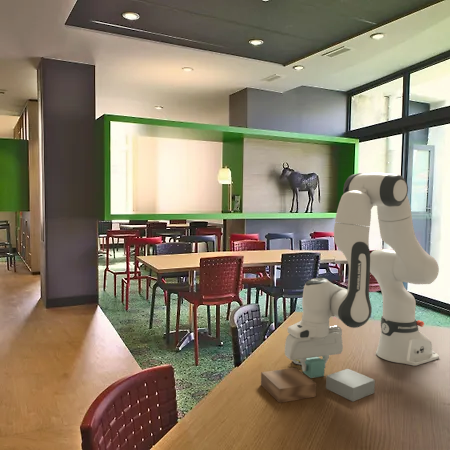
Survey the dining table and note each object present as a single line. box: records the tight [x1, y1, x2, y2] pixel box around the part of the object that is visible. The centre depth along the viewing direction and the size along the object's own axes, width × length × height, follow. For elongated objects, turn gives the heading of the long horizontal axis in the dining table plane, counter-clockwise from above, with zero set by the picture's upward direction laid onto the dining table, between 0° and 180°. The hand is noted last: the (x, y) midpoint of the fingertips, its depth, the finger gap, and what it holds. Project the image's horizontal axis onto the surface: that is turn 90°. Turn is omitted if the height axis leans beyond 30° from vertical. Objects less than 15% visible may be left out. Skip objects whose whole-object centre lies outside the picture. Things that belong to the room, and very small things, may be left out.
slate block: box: [325, 368, 376, 402], centre depth 132 cm, size 10×10×4 cm
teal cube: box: [302, 357, 326, 379], centre depth 144 cm, size 5×5×5 cm
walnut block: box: [260, 367, 317, 404], centre depth 131 cm, size 12×12×4 cm
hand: (313, 369), depth 144 cm, fingers closed on teal cube, 5 cm apart
